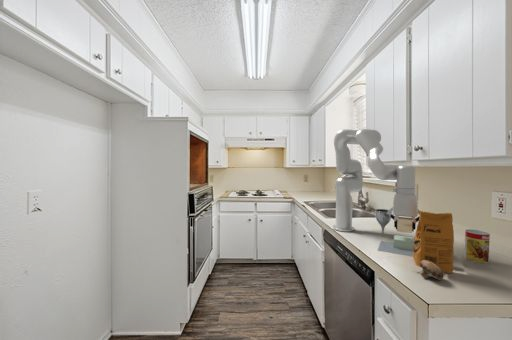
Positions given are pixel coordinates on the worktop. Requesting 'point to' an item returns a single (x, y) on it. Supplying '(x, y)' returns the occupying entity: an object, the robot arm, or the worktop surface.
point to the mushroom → (430, 270)
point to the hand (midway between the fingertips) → (404, 229)
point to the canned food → (477, 246)
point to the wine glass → (382, 218)
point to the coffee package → (435, 240)
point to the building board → (393, 249)
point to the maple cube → (404, 224)
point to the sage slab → (403, 242)
